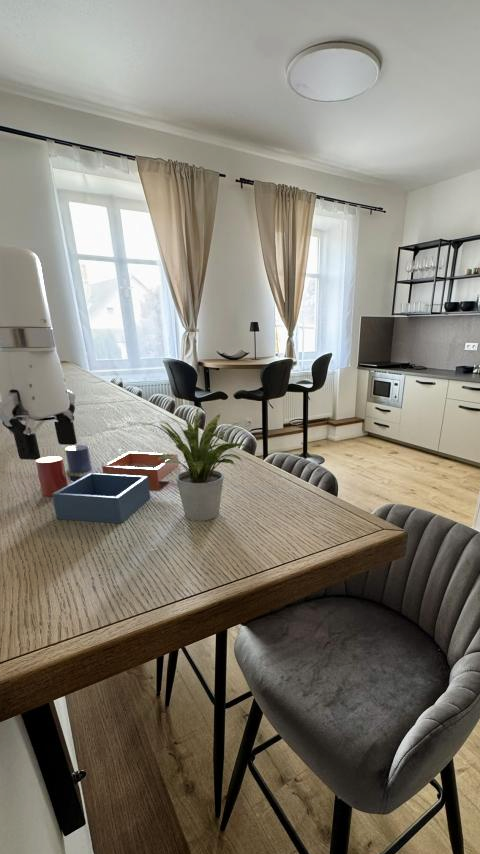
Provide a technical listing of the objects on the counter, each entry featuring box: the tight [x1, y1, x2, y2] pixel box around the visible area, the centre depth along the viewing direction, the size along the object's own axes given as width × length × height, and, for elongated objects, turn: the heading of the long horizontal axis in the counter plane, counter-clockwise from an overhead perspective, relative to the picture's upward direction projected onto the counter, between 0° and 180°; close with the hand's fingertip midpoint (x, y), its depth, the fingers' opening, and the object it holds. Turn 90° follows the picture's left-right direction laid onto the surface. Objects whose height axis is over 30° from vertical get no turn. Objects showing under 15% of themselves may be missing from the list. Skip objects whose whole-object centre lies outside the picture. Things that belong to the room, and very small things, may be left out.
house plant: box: [146, 406, 247, 522], centre depth 60 cm, size 14×14×16 cm
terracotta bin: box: [101, 451, 179, 492], centre depth 78 cm, size 10×10×4 cm
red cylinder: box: [35, 456, 68, 498], centre depth 70 cm, size 4×4×6 cm
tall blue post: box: [64, 444, 93, 482], centre depth 78 cm, size 4×4×6 cm
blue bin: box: [51, 472, 151, 524], centre depth 65 cm, size 10×10×4 cm
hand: (50, 451), depth 68 cm, fingers open, 9 cm apart
